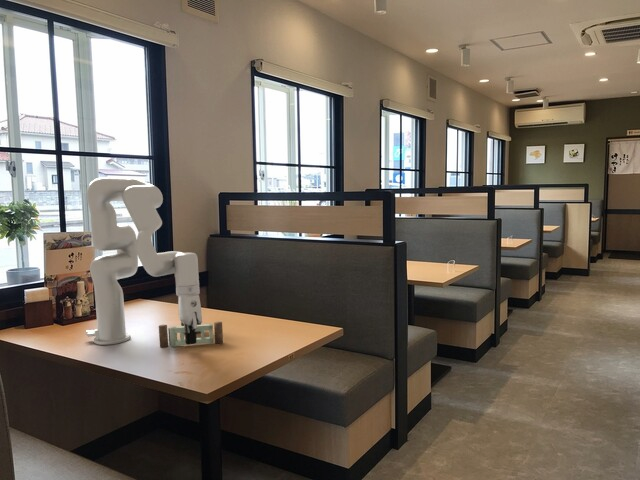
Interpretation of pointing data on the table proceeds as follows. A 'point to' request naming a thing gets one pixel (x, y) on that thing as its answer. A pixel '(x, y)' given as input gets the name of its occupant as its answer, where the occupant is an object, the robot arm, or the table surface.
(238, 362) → the table surface
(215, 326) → the gate posts
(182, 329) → the gate
